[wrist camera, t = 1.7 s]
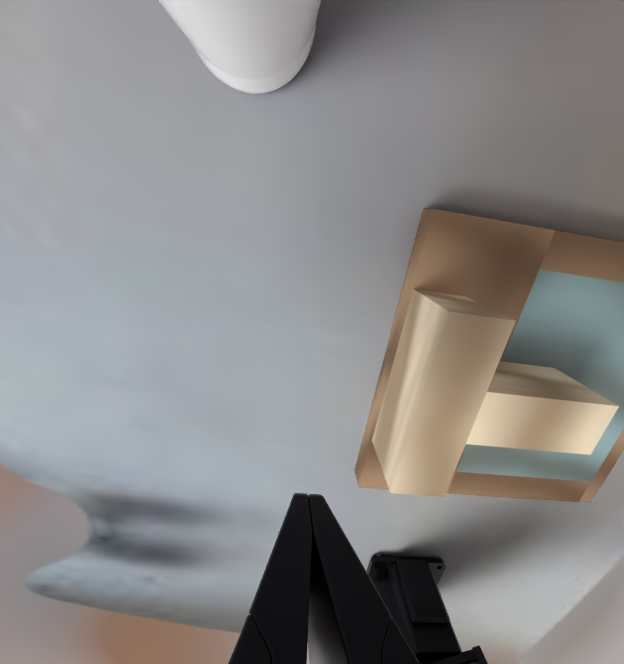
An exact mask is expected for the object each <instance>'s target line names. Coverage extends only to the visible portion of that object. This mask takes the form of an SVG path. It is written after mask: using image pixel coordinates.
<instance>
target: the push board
mask: <svg viewBox="0 0 624 664" xmlns="http://www.w3.org/2000/svg"><path fill="white" fill-rule="evenodd" d="M413 289H416V290H423V291H430V292H437V293H444V294H451V295H458V296H465V297H468V298H470V299H472V300H474V301H476V302H478V303H480V304H482V305H484V306H486V307H488V308H490V309H493V310H495V311H497V312H499V313H501V314H503V315H505V316H507V317H509V318H511V319H513V320H515V321H516V322H515V324H514V326H513V329H512V331H511V334H510V336H509V339H508V341H507V344H506V346H505V349H504V351H503V354H502V356H501V358H500V361H502V362H510V363H518V364H527V365H535V366H543V367H551V368H556V369H557V370H559V371H561V372H562V373H564V374H566V375H567V376H569V377H571V378H572V379H574V380H576V381H577V382H579V383H581V384H583V385H584V386H586V387H588V388H589V389H591V390H593V391H594V392H596V393H598V394H599V395H601V396H603V397H605V398H606V399H608V400H610V401H611V402H613V403H615V404H616V405H618V406H619V408H618V409H617V411H616V413H615V414H614V416H613V418H612V420H611V421H610V423H609V425H608V426H607V428H606V430H605V431H604V433H603V435H602V436H601V438H600V440H599V442H598V443H597V445H596V447H595V448H594V450H593V452H592V453H591V455H587V454H575V453H564V452H552V451H541V450H529V449H517V448H506V447H494V446H483V445H471V444H465V447H464V449H463V452H462V454H461V457H460V459H459V462H458V464H457V467H456V469H455V471H454V474H453V476H452V479H451V481H450V484H449V486H448V489H447V491H446V493H450V494H465V495H481V496H496V497H511V498H526V499H541V500H556V501H571V502H586V503H591V501H592V500H593V498H594V496H595V495H596V493H597V492H598V490H599V488H600V487H601V485H602V484H603V482H604V481H605V479H606V477H607V476H608V474H609V473H610V471H611V469H612V468H613V466H614V465H615V463H616V462H617V460H618V458H619V457H620V455H621V454H622V452H623V451H624V242H619V241H613V240H607V239H602V238H596V237H590V236H585V235H579V234H574V233H568V232H562V231H557V230H551V229H545V228H540V227H534V226H529V225H523V224H517V223H512V222H506V221H500V220H495V219H489V218H483V217H478V216H472V215H467V214H461V213H455V212H450V211H444V210H438V209H423V212H422V216H421V220H420V224H419V227H418V231H417V235H416V239H415V243H414V247H413V250H412V254H411V258H410V262H409V266H408V269H407V273H406V277H405V281H404V285H403V288H402V292H401V296H400V300H399V304H398V308H397V311H396V315H395V319H394V323H393V327H392V330H391V334H390V338H389V342H388V346H387V349H386V353H385V357H384V361H383V365H382V369H381V372H380V376H379V380H378V384H377V388H376V391H375V395H374V399H373V403H372V407H371V411H370V414H369V418H368V422H367V426H366V430H365V433H364V437H363V441H362V445H361V449H360V452H359V456H358V460H357V464H356V468H355V474H356V478H357V482H358V486H359V487H360V488H375V489H389V488H388V485H387V482H386V479H385V476H384V473H383V471H382V468H381V465H380V462H379V459H378V457H377V454H376V451H375V448H374V445H373V442H372V438H373V435H374V431H375V427H376V424H377V420H378V416H379V413H380V409H381V405H382V402H383V398H384V395H385V391H386V387H387V384H388V380H389V376H390V373H391V369H392V365H393V362H394V358H395V355H396V351H397V347H398V344H399V340H400V336H401V333H402V329H403V325H404V322H405V318H406V315H407V311H408V307H409V304H410V300H411V296H412V293H413Z"/></svg>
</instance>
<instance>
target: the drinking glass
mask: <svg viewBox="0 0 624 664" xmlns="http://www.w3.org/2000/svg"><path fill="white" fill-rule="evenodd" d="M158 1H159V2H160V3H161V5H162V6H163V7H164V8H165V10H166V11H167V12H168V13H169V15H170V16H171V17H172V18H173V20H174V21H175V22H176V24H177V25H178V26H179V27H180V29H181V30H182V31H183V33H184V34H185V35H186V36H187V38H188V39H189V40H190V42H191V43H192V45H193V47H194V49H195V50H196V52H197V54H198V55H199V57H200V58H201V60H202V61H203V62H204V64H205V65H206V66H207V68H208V69H209V70H210V71H211V72H212V73H213V74H214V75H215V76H216V77H217V78H218V79H220V80H221V81H222V82H224V83H225V84H227V85H228V86H230V87H232V88H234V89H236V90H239V91H242V92H246V93H253V94H261V93H267V92H271V91H274V90H277V89H279V88H280V87H282V86H284V85H285V84H287V83H288V82H289V81H290V80H292V79H293V78H294V77H295V76H296V74H297V73H298V72H299V71H300V69H301V68H302V66H303V65H304V63H305V61H306V59H307V57H308V55H309V52H310V50H311V46H312V43H313V39H314V35H315V29H316V22H317V15H318V11H319V8H320V4H321V0H158Z"/></svg>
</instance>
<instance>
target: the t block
mask: <svg viewBox="0 0 624 664" xmlns="http://www.w3.org/2000/svg"><path fill="white" fill-rule="evenodd" d="M515 322H516V321H515V320H513V319H511V318H509V317H507V316H505V315H503V314H501V313H499V312H497V311H495V310H493V309H490V308H488V307H486V306H484V305H482V304H480V303H478V302H476V301H474V300H472V299H470V298H468V297H465V296H458V295H451V294H444V293H437V292H430V291H423V290H416V289H413V293H412V296H411V300H410V304H409V307H408V311H407V315H406V318H405V322H404V325H403V329H402V333H401V336H400V340H399V344H398V347H397V351H396V355H395V358H394V362H393V365H392V369H391V373H390V376H389V380H388V384H387V387H386V391H385V395H384V398H383V402H382V405H381V409H380V413H379V416H378V420H377V424H376V427H375V431H374V435H373V438H372V442H373V445H374V448H375V451H376V454H377V457H378V459H379V462H380V465H381V468H382V471H383V473H384V476H385V479H386V482H387V485H388V488H389V490H390V493H397V494H413V495H428V496H445V494H446V491H447V489H448V486H449V484H450V481H451V479H452V476H453V474H454V471H455V469H456V467H457V464H458V462H459V459H460V457H461V454H462V452H463V449H464V447H465V444H471V445H483V446H494V447H506V448H517V449H529V450H541V451H552V452H564V453H575V454H587V455H591V453H592V452H593V450H594V448H595V447H596V445H597V443H598V442H599V440H600V438H601V436H602V435H603V433H604V431H605V430H606V428H607V426H608V425H609V423H610V421H611V420H612V418H613V416H614V414H615V413H616V411H617V409H618V408H619V406H618V405H616V404H615V403H613V402H611V401H610V400H608V399H606V398H605V397H603V396H601V395H599V394H598V393H596V392H594V391H593V390H591V389H589V388H588V387H586V386H584V385H583V384H581V383H579V382H577V381H576V380H574V379H572V378H571V377H569V376H567V375H566V374H564V373H562V372H561V371H559V370H557V369H556V368H551V367H543V366H535V365H527V364H518V363H510V362H502V361H500V358H501V356H502V354H503V351H504V349H505V346H506V344H507V341H508V339H509V336H510V334H511V331H512V329H513V326H514V324H515Z"/></svg>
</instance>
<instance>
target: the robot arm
mask: <svg viewBox="0 0 624 664" xmlns="http://www.w3.org/2000/svg"><path fill="white" fill-rule="evenodd" d="M444 569H445V564H444V562H443V560H442V559H437V558H412V557H387V556H375V557H373V558H371V560H370V563H369V566H368V569H367V572H366V570H365V569H364V567H363V565H362V563H361V562H360V560H359V558H358V556H357V555H356V553H355V551H354V549H353V548H352V546H351V544H350V542H349V541H348V539H347V537H346V535H345V534H344V532H343V530H342V528H341V527H340V525H339V523H338V522H337V520H336V518H335V516H334V515H333V513H332V511H331V509H330V508H329V506H328V504H327V502H326V501H325V499H324V497H323V496H322V495H319V494H309V495H307V494H303V493H295V494H294V495H293V498H292V500H291V503H290V506H289V508H288V511H287V513H286V516H285V519H284V521H283V524H282V527H281V529H280V532H279V535H278V537H277V540H276V542H275V545H274V548H273V550H272V553H271V556H270V558H269V561H268V564H267V566H266V569H265V571H264V574H263V577H262V579H261V582H260V585H259V587H258V590H257V592H256V595H255V598H254V600H253V603H252V606H251V608H250V611H249V615H248V616H247V618H246V621H245V624H244V626H243V629H242V631H241V634H240V637H239V639H238V641H237V644H236V646H235V649H234V651H233V654H232V656H231V658H230V661H229V663H228V664H306V659H307V640H308V648H309V659H310V664H488V663H487V661H486V659H485V657H484V655H483V652H482V650H481V648H480V646H476V647H472V650H469V651H465V652H462V651H461V648H460V645H459V643H458V640H457V638H456V635H455V633H454V630H453V627H452V625H451V622H450V618H449V615H448V613H447V610H446V607H445V605H444V602H443V600H442V597H441V595H440V592H439V590H438V587H437V584H438V582H439V580H440V578H441V576H442V573H443V571H444Z"/></svg>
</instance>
